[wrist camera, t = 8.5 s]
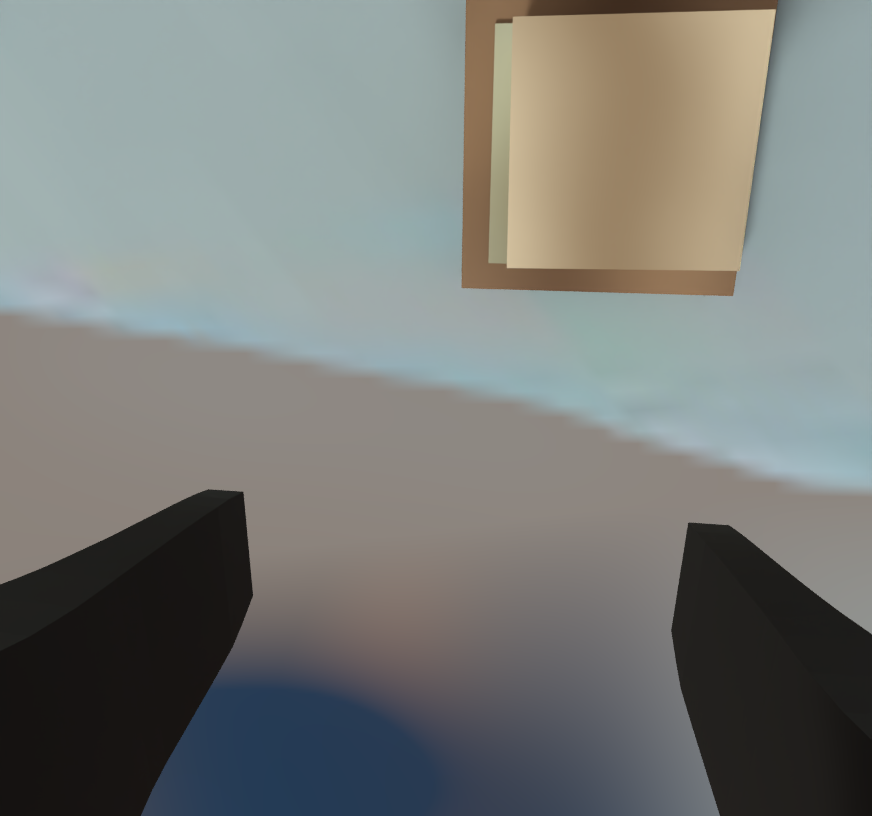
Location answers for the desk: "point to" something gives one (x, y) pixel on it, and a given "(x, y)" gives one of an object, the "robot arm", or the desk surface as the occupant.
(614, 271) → the brown framed square tile
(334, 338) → the desk surface
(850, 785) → the robot arm
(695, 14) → the birch cube
